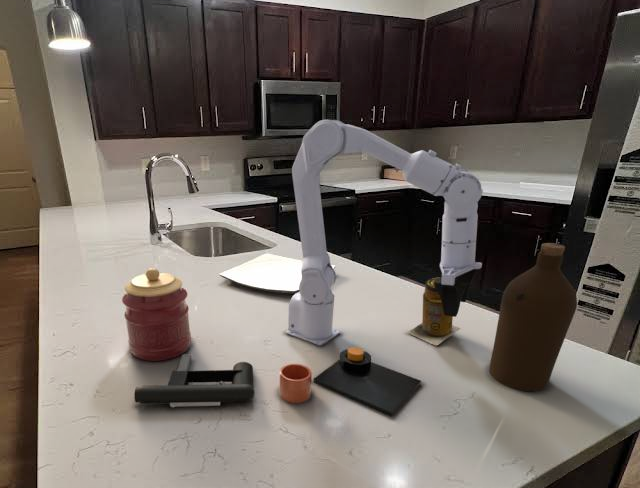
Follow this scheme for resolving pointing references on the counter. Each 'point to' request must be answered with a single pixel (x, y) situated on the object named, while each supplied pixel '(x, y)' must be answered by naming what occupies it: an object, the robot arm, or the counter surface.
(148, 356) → the kitchen canister
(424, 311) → the condiment
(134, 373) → the counter surface
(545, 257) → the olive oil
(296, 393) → the cup
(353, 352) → the button
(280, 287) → the plate
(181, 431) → the counter surface
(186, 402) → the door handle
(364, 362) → the scale
